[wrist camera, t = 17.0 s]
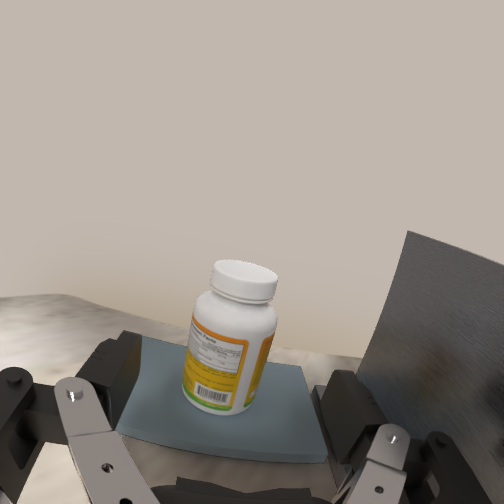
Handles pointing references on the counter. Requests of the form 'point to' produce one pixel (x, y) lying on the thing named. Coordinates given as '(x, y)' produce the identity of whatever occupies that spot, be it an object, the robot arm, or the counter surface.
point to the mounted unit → (440, 357)
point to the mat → (217, 426)
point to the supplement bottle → (230, 338)
